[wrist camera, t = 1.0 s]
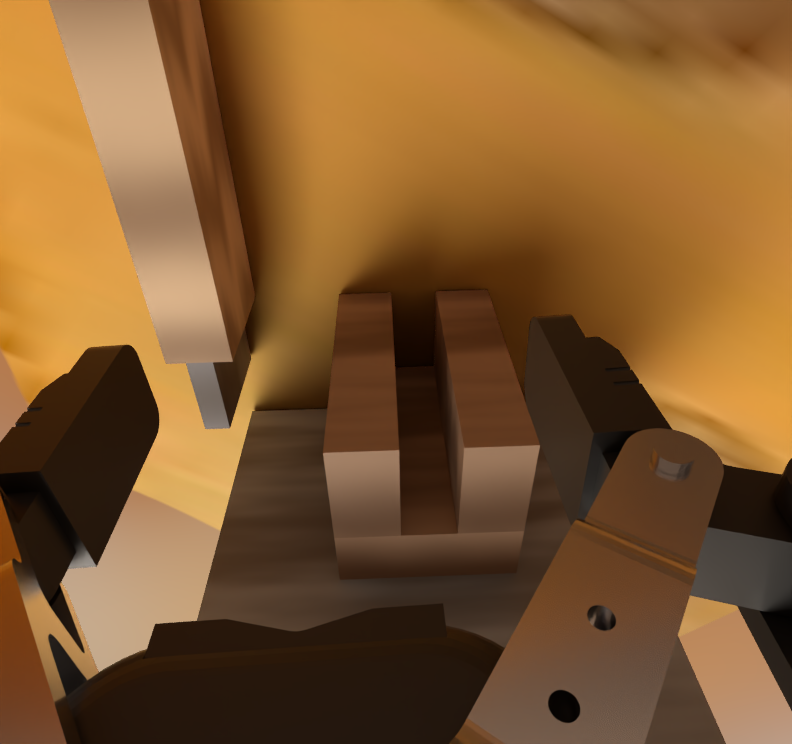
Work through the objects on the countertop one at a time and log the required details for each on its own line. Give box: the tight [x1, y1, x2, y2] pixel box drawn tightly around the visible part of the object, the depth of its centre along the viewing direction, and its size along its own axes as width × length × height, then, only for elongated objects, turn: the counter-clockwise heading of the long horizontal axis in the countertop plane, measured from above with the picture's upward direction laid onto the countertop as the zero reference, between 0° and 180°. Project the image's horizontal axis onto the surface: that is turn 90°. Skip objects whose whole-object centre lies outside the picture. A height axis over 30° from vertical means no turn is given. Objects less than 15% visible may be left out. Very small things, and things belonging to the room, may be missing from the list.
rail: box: [49, 0, 255, 429], centre depth 25 cm, size 18×3×6 cm, turn 1°
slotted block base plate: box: [197, 290, 726, 744], centre depth 25 cm, size 10×20×20 cm, turn 91°
